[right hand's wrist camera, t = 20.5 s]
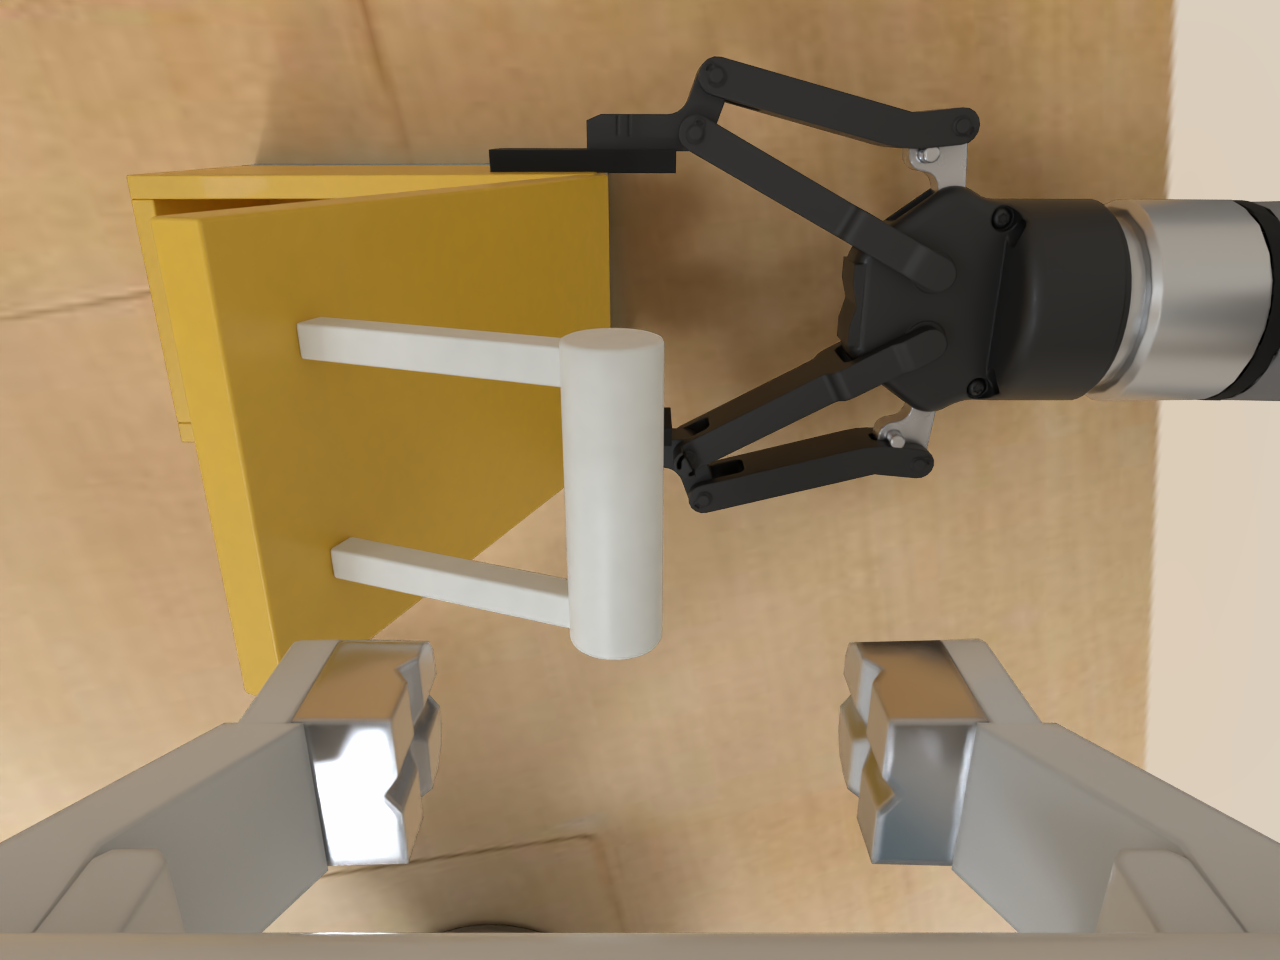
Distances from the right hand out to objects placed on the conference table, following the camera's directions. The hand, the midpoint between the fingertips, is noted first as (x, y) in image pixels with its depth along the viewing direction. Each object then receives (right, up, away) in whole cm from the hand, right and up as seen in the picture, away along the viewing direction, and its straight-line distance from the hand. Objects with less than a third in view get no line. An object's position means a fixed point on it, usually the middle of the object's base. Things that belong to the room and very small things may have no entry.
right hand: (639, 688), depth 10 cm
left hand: (-5, +9, +23) cm, 26 cm away
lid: (-5, +5, +13) cm, 15 cm away
